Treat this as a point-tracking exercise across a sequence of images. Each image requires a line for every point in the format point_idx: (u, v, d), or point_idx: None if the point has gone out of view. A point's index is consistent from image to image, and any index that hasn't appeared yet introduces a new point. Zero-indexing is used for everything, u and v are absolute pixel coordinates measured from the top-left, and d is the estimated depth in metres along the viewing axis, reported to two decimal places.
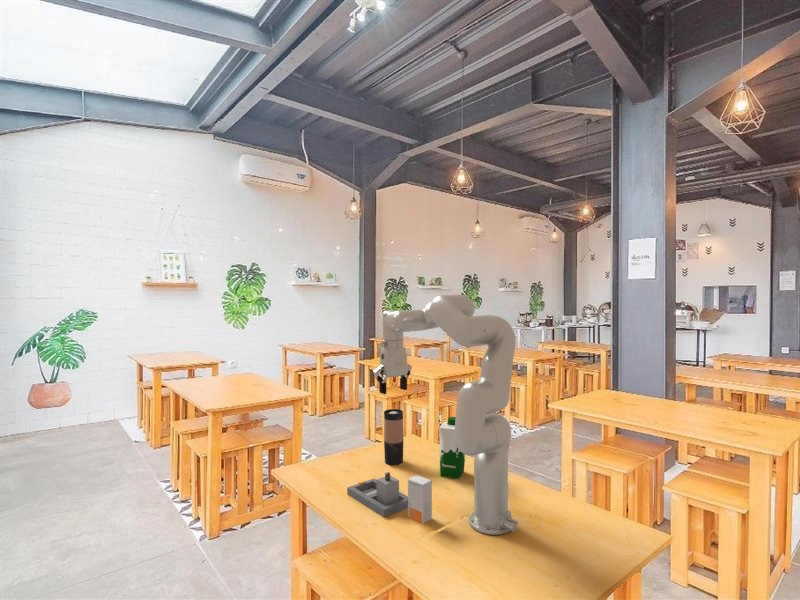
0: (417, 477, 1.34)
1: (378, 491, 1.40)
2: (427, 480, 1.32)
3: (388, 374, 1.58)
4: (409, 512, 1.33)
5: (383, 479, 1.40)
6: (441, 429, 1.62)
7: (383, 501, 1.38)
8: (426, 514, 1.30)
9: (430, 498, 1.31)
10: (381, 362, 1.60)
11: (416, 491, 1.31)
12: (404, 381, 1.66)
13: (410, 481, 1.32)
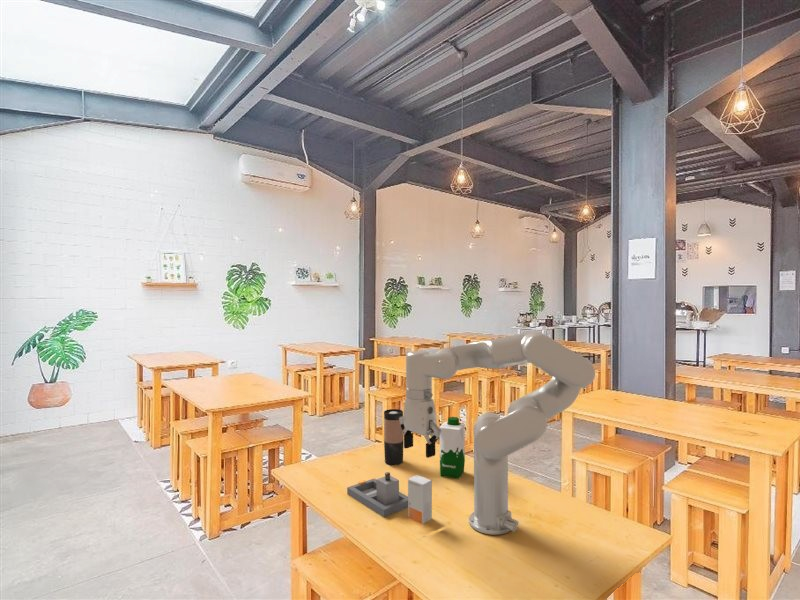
0: (417, 477, 1.34)
1: (378, 491, 1.40)
2: (427, 480, 1.32)
3: None
4: (409, 512, 1.33)
5: (383, 479, 1.40)
6: (441, 429, 1.62)
7: (383, 501, 1.38)
8: (426, 514, 1.30)
9: (430, 498, 1.31)
10: (429, 418, 1.28)
11: (416, 491, 1.31)
12: (411, 436, 1.36)
13: (410, 481, 1.32)
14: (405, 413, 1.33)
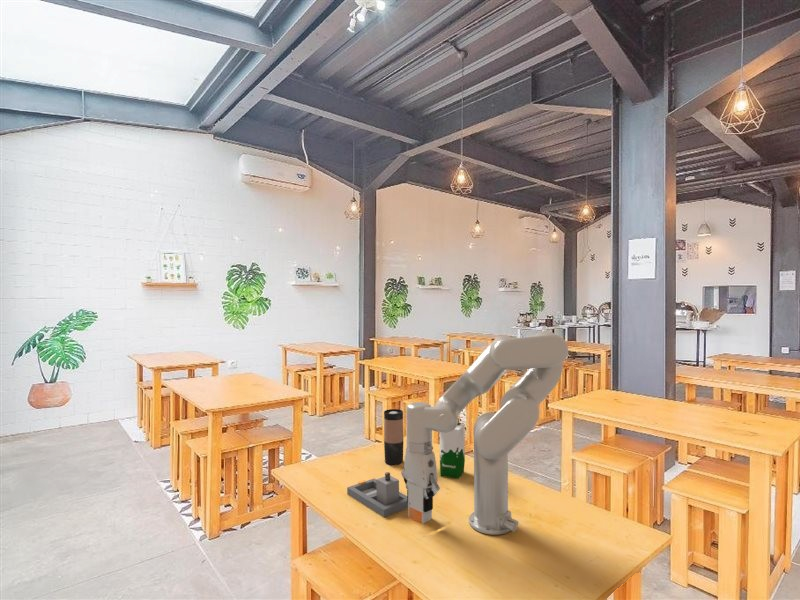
0: None
1: (378, 491, 1.40)
2: None
3: None
4: (409, 512, 1.33)
5: (383, 479, 1.40)
6: None
7: (383, 501, 1.38)
8: (426, 514, 1.30)
9: None
10: (430, 471, 1.28)
11: (416, 491, 1.31)
12: None
13: (410, 481, 1.32)
14: (406, 464, 1.34)
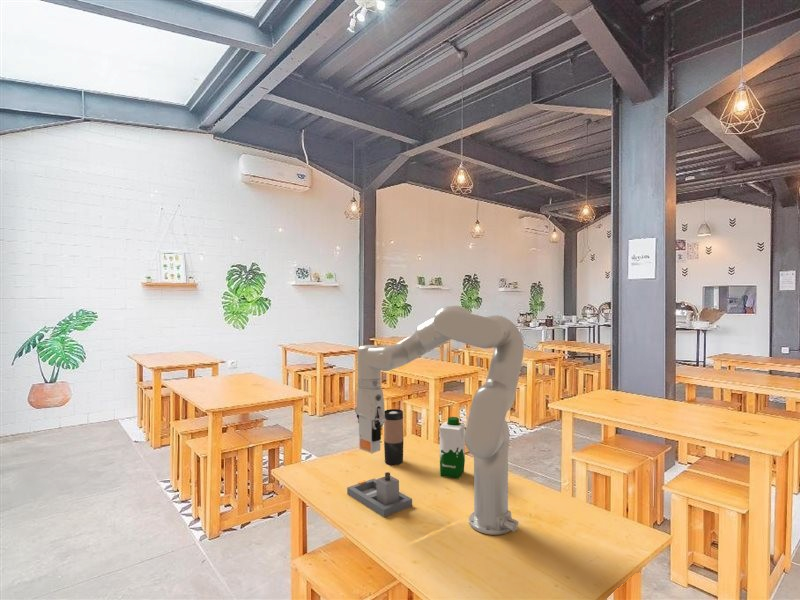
0: None
1: (378, 491, 1.40)
2: None
3: None
4: (360, 443, 1.47)
5: (383, 479, 1.40)
6: (441, 429, 1.62)
7: (383, 501, 1.38)
8: (375, 444, 1.45)
9: None
10: (377, 404, 1.43)
11: (365, 423, 1.45)
12: None
13: (361, 415, 1.47)
14: (357, 401, 1.48)
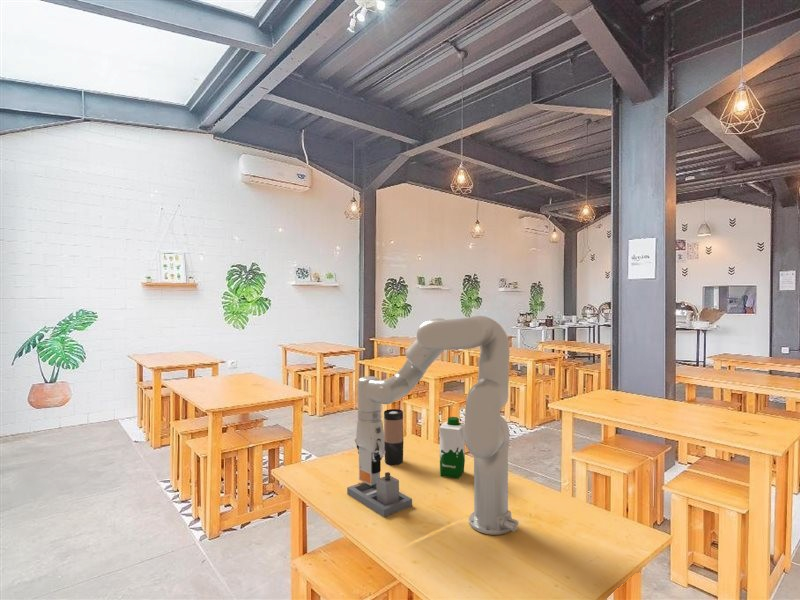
0: None
1: (378, 491, 1.40)
2: None
3: None
4: (360, 474, 1.48)
5: (383, 479, 1.40)
6: (441, 429, 1.62)
7: (383, 501, 1.38)
8: (374, 476, 1.45)
9: None
10: (377, 437, 1.43)
11: (365, 455, 1.46)
12: None
13: (361, 446, 1.47)
14: (357, 432, 1.49)
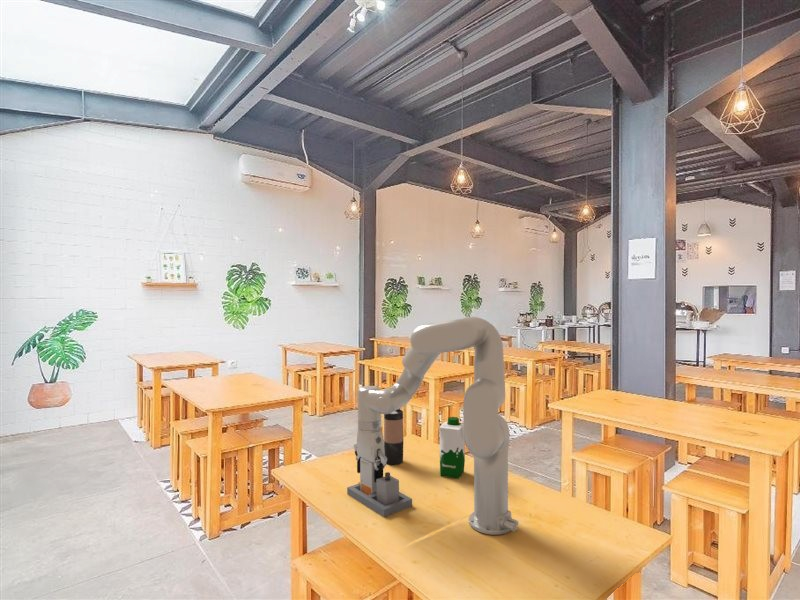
0: None
1: (378, 491, 1.40)
2: None
3: None
4: (361, 488, 1.48)
5: (383, 479, 1.40)
6: (441, 429, 1.62)
7: (383, 501, 1.38)
8: (375, 490, 1.45)
9: None
10: (377, 447, 1.43)
11: (366, 469, 1.45)
12: None
13: (362, 460, 1.47)
14: (357, 442, 1.49)
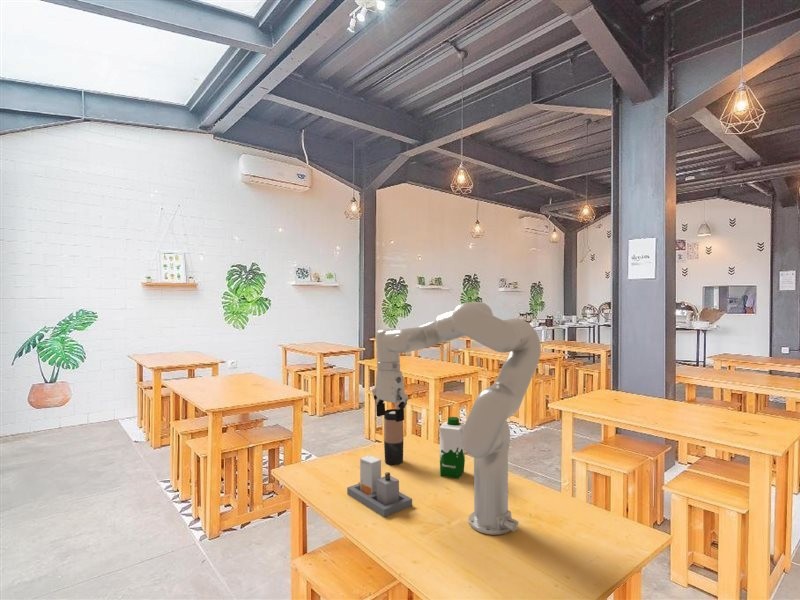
0: (369, 457, 1.49)
1: (378, 491, 1.40)
2: (377, 459, 1.46)
3: None
4: (361, 488, 1.48)
5: (383, 479, 1.40)
6: (441, 429, 1.62)
7: (383, 501, 1.38)
8: (375, 490, 1.45)
9: (379, 476, 1.46)
10: (398, 386, 1.45)
11: (366, 469, 1.45)
12: (383, 405, 1.53)
13: (362, 460, 1.47)
14: (377, 384, 1.50)
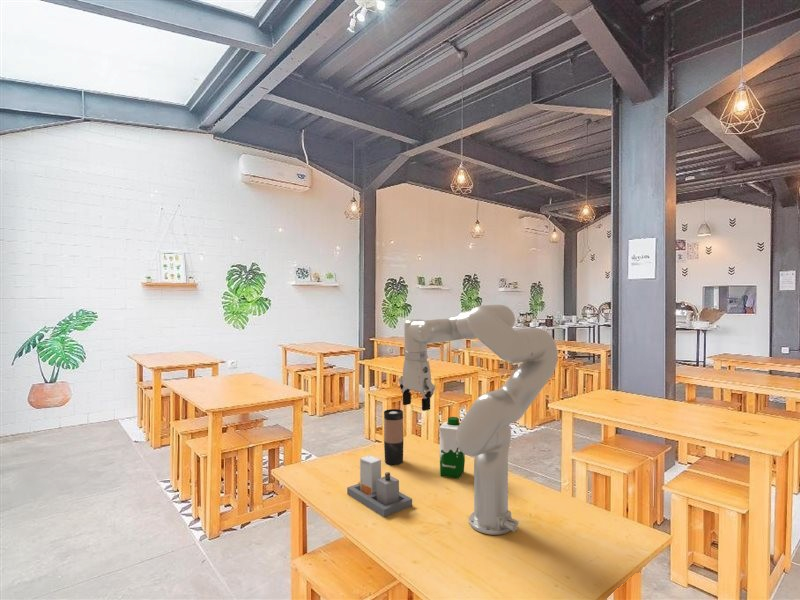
0: (369, 457, 1.49)
1: (378, 491, 1.40)
2: (377, 459, 1.46)
3: None
4: (361, 488, 1.48)
5: (383, 479, 1.40)
6: (441, 429, 1.62)
7: (383, 501, 1.38)
8: (375, 490, 1.45)
9: (379, 476, 1.46)
10: (425, 376, 1.47)
11: (366, 469, 1.45)
12: (409, 395, 1.55)
13: (362, 460, 1.47)
14: (404, 374, 1.52)
